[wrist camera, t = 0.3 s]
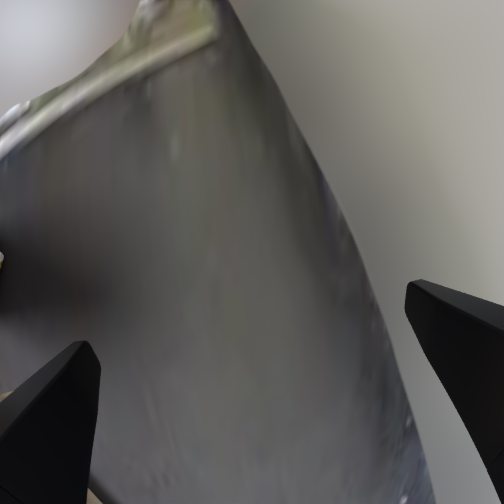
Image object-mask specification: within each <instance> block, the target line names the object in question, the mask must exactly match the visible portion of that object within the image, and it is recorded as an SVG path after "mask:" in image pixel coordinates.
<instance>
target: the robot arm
mask: <svg viewBox="0 0 504 504" xmlns="http://www.w3.org/2000/svg"><path fill="white" fill-rule="evenodd" d="M405 313H406V316H407V318H408V320H409V322H410V324H411V326H412V328H413V330H414V332H415V334H416V337H417V339H418V341H419V343H420V345H421V347H422V349H423V351H424V353H425V355H426V357H427V359H428V361H429V362H430V364H431V366H432V367H433V369H434V371H435V372H436V374H437V376H438V378H439V379H440V381H441V383H442V385H443V386H444V388H445V390H446V392H447V393H448V395H449V397H450V399H451V401H452V402H453V404H454V406H455V408H456V409H457V412H458V413H459V415H460V417H461V419H462V421H463V422H464V425H465V427H466V428H467V430H468V432H469V434H470V436H471V438H472V440H473V442H474V444H475V446H476V448H477V450H478V452H479V454H480V457H481V458H482V461H483V463H484V465H485V467H486V469H487V472H488V474H489V476H490V478H491V481H492V483H493V485H494V487H495V490H496V492H497V494H498V497H499V499H500V501H501V504H504V306H502V305H499V304H496V303H493V302H490V301H487V300H484V299H481V298H478V297H475V296H472V295H469V294H466V293H462V292H460V291H456V290H453V289H450V288H447V287H444V286H441V285H438V284H435V283H432V282H429V281H426V280H422V279H419V280H415V281H411V282H409V283H408V285H407V290H406V298H405ZM100 376H101V365H100V362H99V360H98V358H97V356H96V355H95V353H94V351H93V349H92V347H91V345H90V343H89V342H87V341H76V342H73V343H72V344H71V345H70V346H68V347H67V348H66V349H65V350H63V351H62V352H61V353H60V354H58V355H57V356H56V357H55V358H53V359H52V360H51V361H50V362H48V363H47V364H46V365H45V366H43V367H42V368H41V369H40V370H38V371H37V372H36V373H35V374H34V375H32V376H31V377H30V378H29V379H27V380H26V381H25V382H24V383H23V384H21V385H20V386H19V387H18V388H17V389H15V390H14V391H13V392H12V393H11V394H9V395H8V396H7V397H6V398H5V399H3V400H2V401H1V402H0V504H87V494H88V483H89V473H90V464H91V456H92V448H93V441H94V434H95V428H96V422H97V414H98V402H99V388H100Z"/></svg>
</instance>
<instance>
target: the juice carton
mask: <svg viewBox="0 0 504 504" xmlns="http://www.w3.org/2000/svg"><path fill="white" fill-rule="evenodd" d="M3 259H4V255H3V254H2V253H1V252H0V269H1V266H2V262H3Z"/></svg>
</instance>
